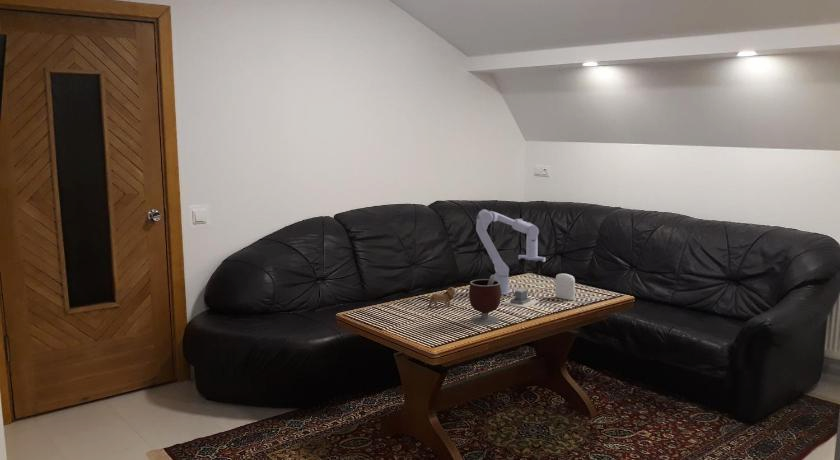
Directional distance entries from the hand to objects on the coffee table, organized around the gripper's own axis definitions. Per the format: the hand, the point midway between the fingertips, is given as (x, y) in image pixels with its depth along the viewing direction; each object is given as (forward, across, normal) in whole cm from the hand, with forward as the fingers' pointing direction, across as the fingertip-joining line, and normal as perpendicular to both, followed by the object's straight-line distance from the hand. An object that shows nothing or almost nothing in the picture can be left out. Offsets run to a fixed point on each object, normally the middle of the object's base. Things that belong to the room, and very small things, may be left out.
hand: (531, 274), depth 332 cm
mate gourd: (+10, -8, +58) cm, 59 cm away
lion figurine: (+10, +21, +50) cm, 55 cm away
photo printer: (+10, -20, +3) cm, 22 cm away
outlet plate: (+9, -6, +23) cm, 26 cm away
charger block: (+9, -6, +23) cm, 25 cm away
